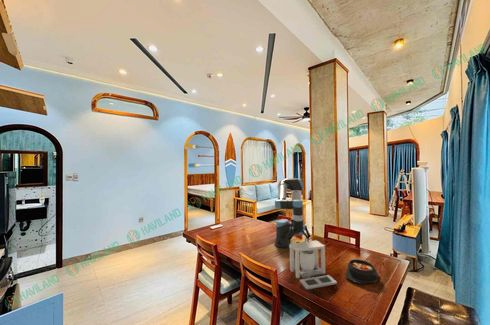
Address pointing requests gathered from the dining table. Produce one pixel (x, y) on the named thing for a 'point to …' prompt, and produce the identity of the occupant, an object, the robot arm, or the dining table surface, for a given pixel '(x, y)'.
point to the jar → (307, 260)
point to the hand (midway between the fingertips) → (298, 247)
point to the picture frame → (309, 273)
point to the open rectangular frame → (319, 280)
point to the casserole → (361, 272)
